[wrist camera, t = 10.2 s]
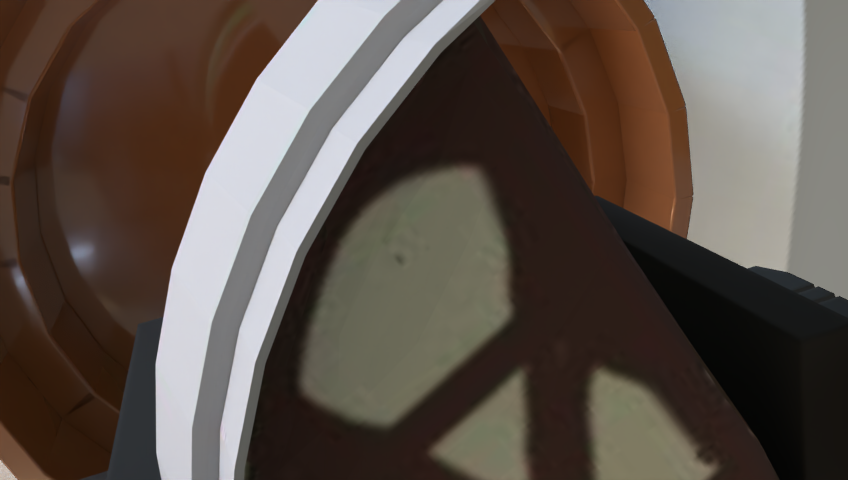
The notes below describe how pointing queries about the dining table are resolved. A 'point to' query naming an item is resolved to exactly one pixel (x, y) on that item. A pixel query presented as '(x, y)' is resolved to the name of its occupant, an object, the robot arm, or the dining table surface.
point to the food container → (419, 283)
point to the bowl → (194, 151)
